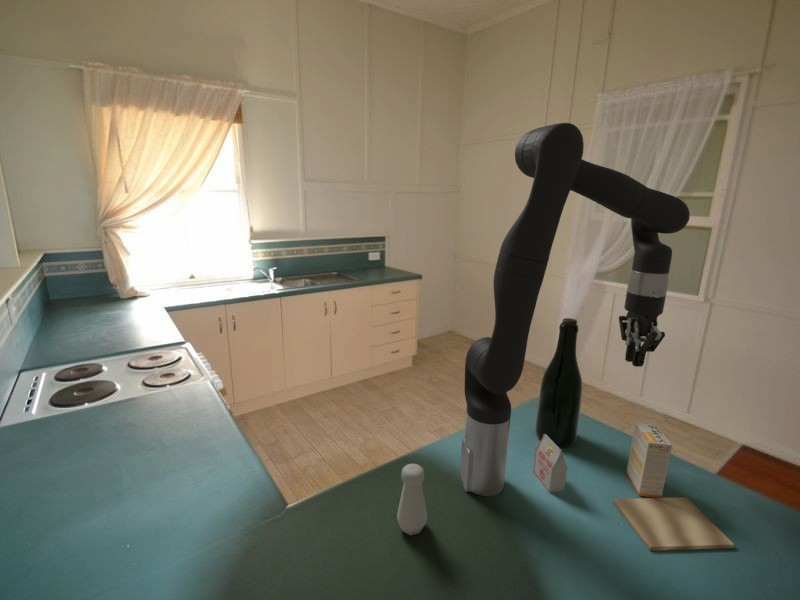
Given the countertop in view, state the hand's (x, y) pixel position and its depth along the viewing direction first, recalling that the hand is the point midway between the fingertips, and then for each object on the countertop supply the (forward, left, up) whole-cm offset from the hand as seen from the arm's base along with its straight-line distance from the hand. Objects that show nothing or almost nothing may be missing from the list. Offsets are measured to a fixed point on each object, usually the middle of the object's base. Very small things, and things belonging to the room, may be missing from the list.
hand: (633, 363), depth 94 cm
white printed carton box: (-21, -8, -25) cm, 34 cm away
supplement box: (0, -10, -25) cm, 27 cm away
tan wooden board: (-2, -21, -25) cm, 33 cm away
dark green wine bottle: (-12, +9, -25) cm, 29 cm away
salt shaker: (-53, -20, -25) cm, 62 cm away
